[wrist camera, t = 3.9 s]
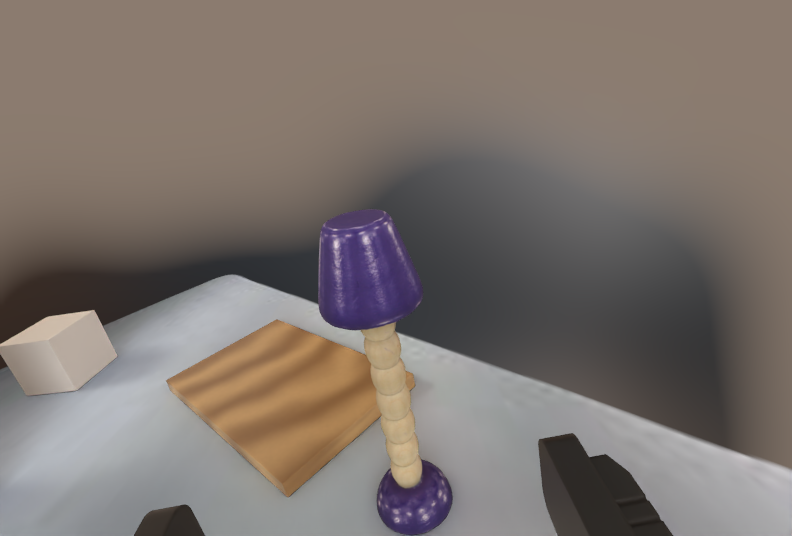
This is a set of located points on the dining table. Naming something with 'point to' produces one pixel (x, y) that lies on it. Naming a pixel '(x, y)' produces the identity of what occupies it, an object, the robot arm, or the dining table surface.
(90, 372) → the plain ivory cube
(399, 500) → the toy lamp
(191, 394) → the oak board
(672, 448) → the dining table surface
